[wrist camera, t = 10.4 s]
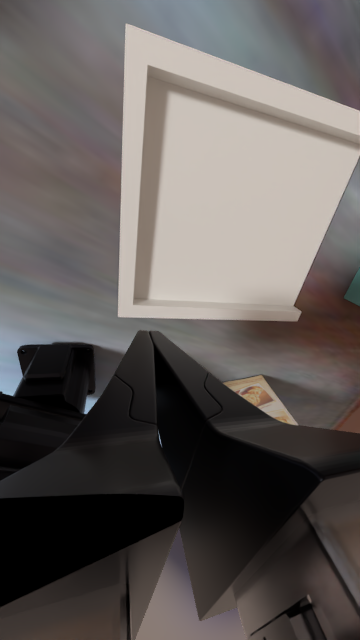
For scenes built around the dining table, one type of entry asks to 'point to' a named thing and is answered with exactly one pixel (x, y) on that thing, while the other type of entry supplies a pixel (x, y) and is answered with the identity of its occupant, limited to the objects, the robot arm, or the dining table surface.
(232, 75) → the tray
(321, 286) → the dining table surface
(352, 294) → the teal rectangular block
